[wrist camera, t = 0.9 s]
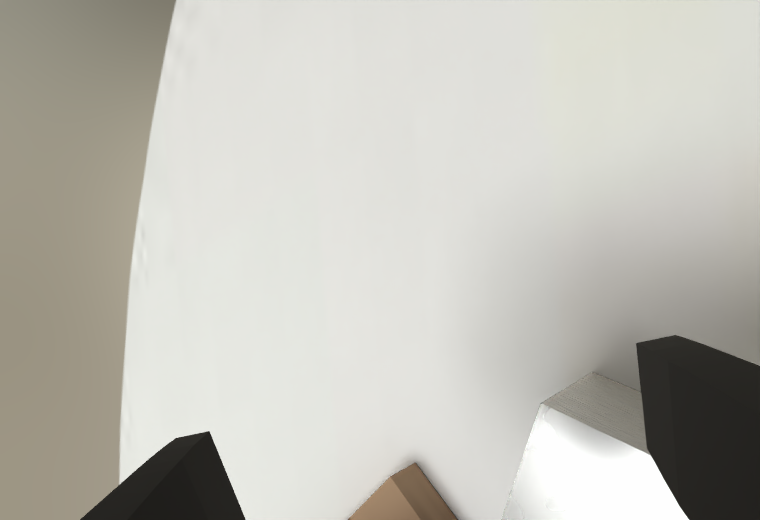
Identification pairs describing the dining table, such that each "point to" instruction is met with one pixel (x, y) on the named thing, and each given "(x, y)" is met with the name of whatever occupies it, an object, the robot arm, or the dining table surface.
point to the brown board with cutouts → (405, 499)
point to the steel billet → (590, 460)
